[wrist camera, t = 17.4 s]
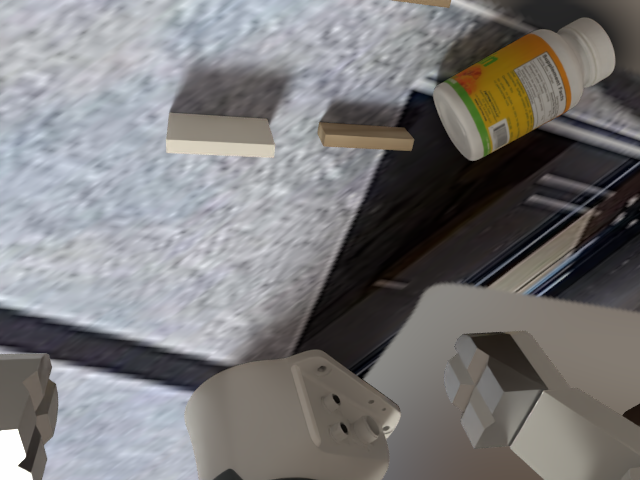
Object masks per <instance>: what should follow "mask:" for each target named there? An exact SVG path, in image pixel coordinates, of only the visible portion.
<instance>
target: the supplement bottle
mask: <svg viewBox="0 0 640 480" xmlns="http://www.w3.org/2000/svg"><path fill="white" fill-rule="evenodd" d="M614 66H615V54H614V49H613V46H612V43H611V41H610V39H609V37H608V35H607V34H606V32H605V31H604V29H603V28H602V27H601V26H600V25H599V24H598V23H597V22H595V21H594V20H592V19H590V18H580V19H577V20H576V21H574V22H572V23H570V24H568V25H567V26H565V27H563V28H561V29H560V30H559V31H558V32H557V33H555V32H553V31H551V30H546V29H540V30H535V31H533V32H531V33H529V34H527V35H525V36H523V37H522V38H520V39H518V40H516V41H514V42H513V43H511V44H509V45H507V46H506V47H504V48H502V49H500V50H499V51H497V52H495V53H493V54H491V55H490V56H488V57H486V58H484V59H483V60H481V61H479V62H477V63H476V64H474V65H472V66H470V67H469V68H467V69H465V70H463V71H462V72H460V73H458V74H456V75H454V76H453V77H451V78H449V79H447V80H446V81H444V82H442V83H441V84H439V85H438V86H436V88H435V89H434V92H433V98H434V103H435V106H436V109H437V112H438V114H439V117H440V119H441V122H442V124H443V126H444V128H445V130H446V132H447V134H448V135H449V137H450V139H451V141H452V142H453V144H454V145H455V146H456V148H457V149H458V150H459V151H460V152H461V154H462V155H463V156H465V157H466V158H467V159H469V160H471V161H475V160H478V159H480V158H482V157H484V156H486V155H488V154H490V153H492V152H494V151H495V150H497V149H499V148H501V147H503V146H505V145H507V144H508V143H510V142H512V141H514V140H516V139H517V138H519V137H521V136H523V135H525V134H527V133H529V132H530V131H532V130H534V129H536V128H538V127H540V126H541V125H543V124H545V123H547V122H549V121H551V120H553V119H554V118H556V117H558V116H560V115H562V114H563V113H565V112H567V111H568V110H570V109H572V108H573V107H574V106H575V105H576V104H577V103H578V102H579V100H580V98H581V96H582V93H583V88H586V87H589V86H592V85H595V84H596V83H598V82H599V81H601V80H603V79H604V78H606V77H608V76H609V75H610V74H611V73H612V72H613V70H614Z"/></svg>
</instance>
